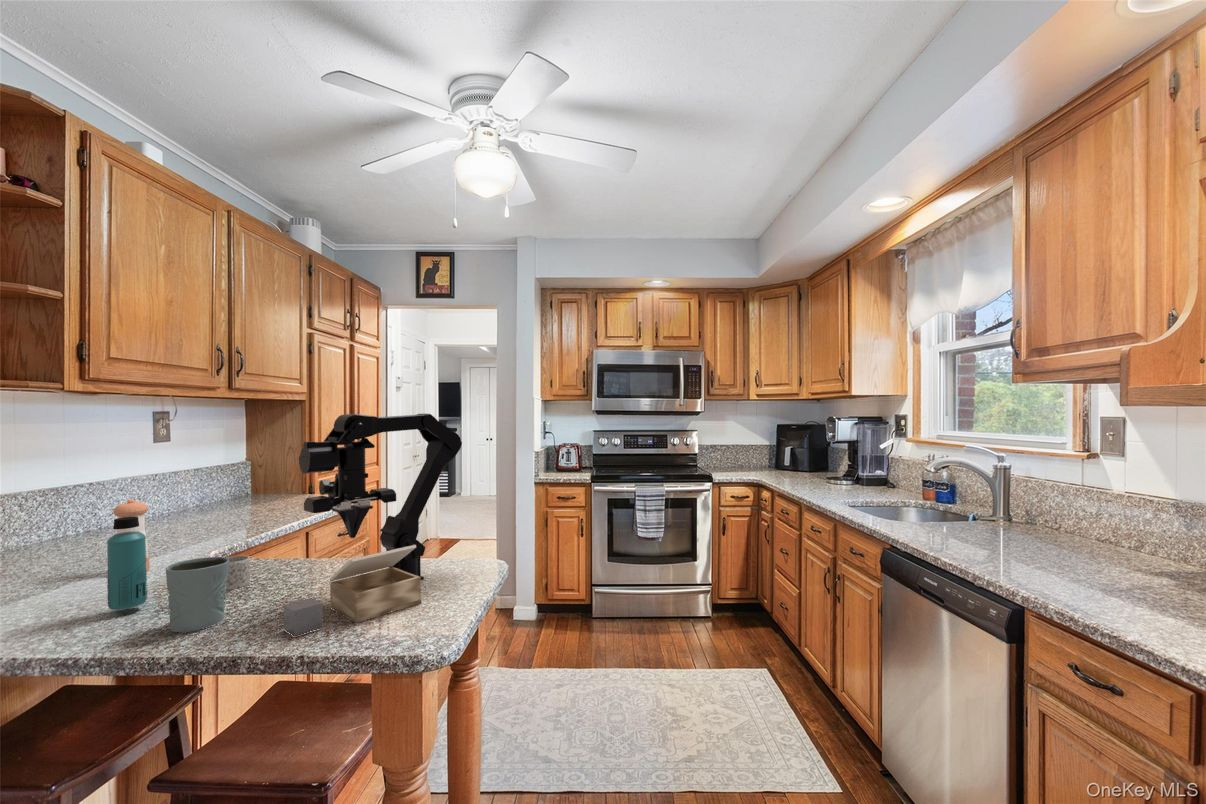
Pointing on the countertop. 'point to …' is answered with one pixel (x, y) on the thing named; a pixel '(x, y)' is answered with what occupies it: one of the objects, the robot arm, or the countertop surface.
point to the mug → (238, 572)
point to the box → (375, 593)
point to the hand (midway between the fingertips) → (352, 537)
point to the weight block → (302, 616)
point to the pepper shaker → (133, 510)
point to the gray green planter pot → (197, 593)
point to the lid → (372, 562)
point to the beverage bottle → (126, 566)
